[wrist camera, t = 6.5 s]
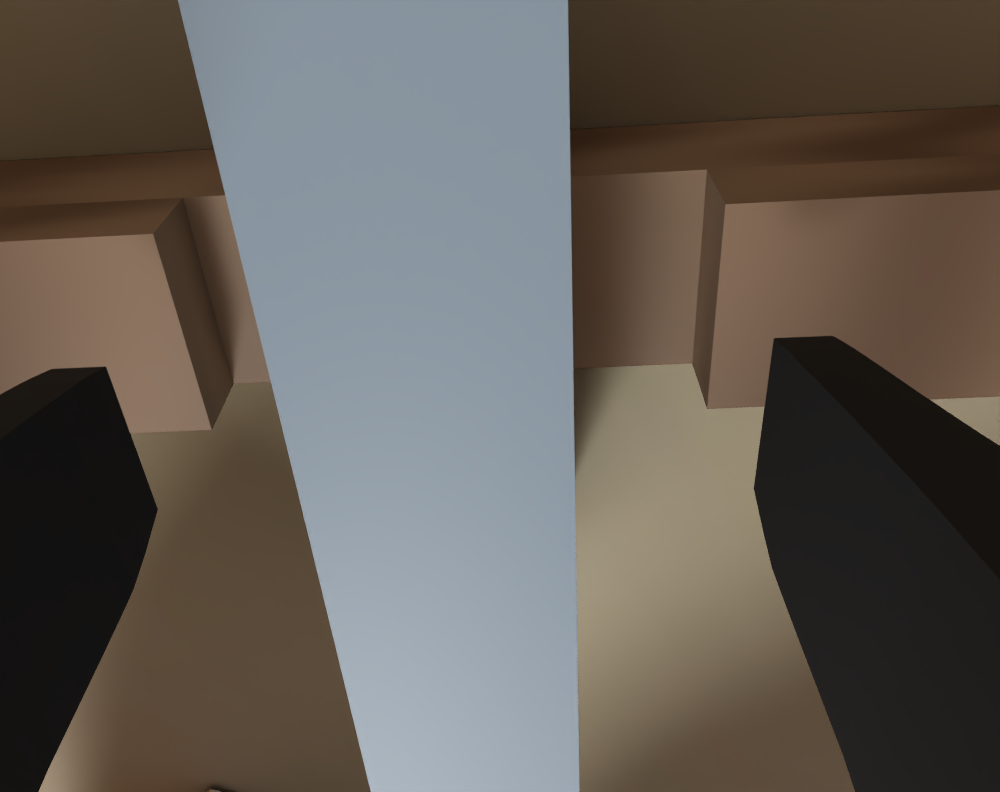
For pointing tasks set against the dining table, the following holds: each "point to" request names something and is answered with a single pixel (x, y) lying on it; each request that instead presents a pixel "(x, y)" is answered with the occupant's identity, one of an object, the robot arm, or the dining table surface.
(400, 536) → the plain blue-gray board
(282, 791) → the dining table surface
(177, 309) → the notched rail
